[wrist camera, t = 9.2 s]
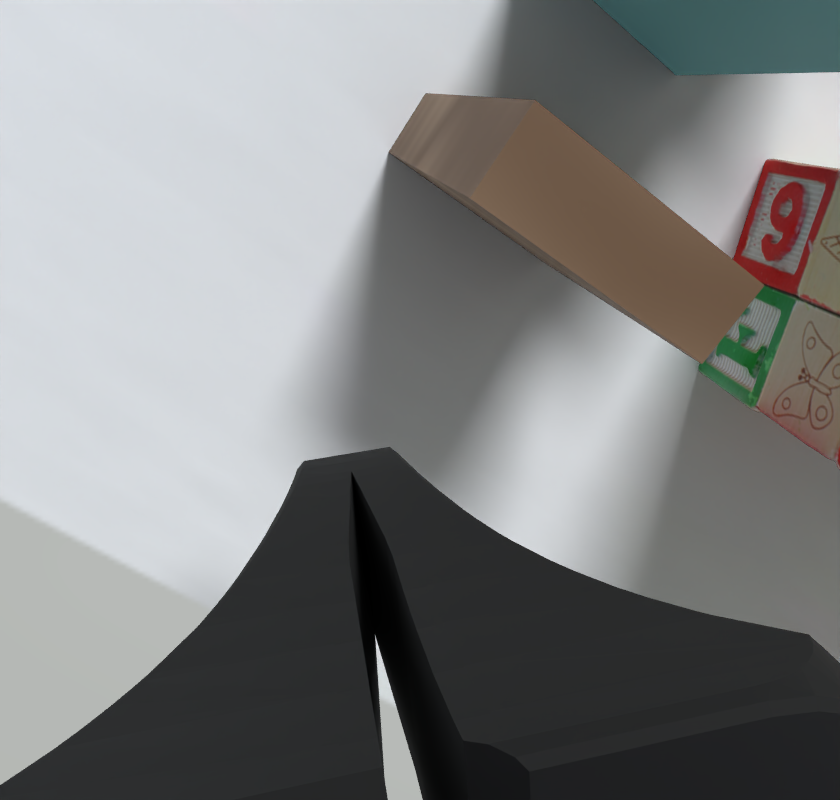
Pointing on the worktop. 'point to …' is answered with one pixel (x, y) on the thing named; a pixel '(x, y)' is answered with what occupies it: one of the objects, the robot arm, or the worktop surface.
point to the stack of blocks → (789, 306)
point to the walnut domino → (578, 214)
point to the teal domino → (734, 34)
